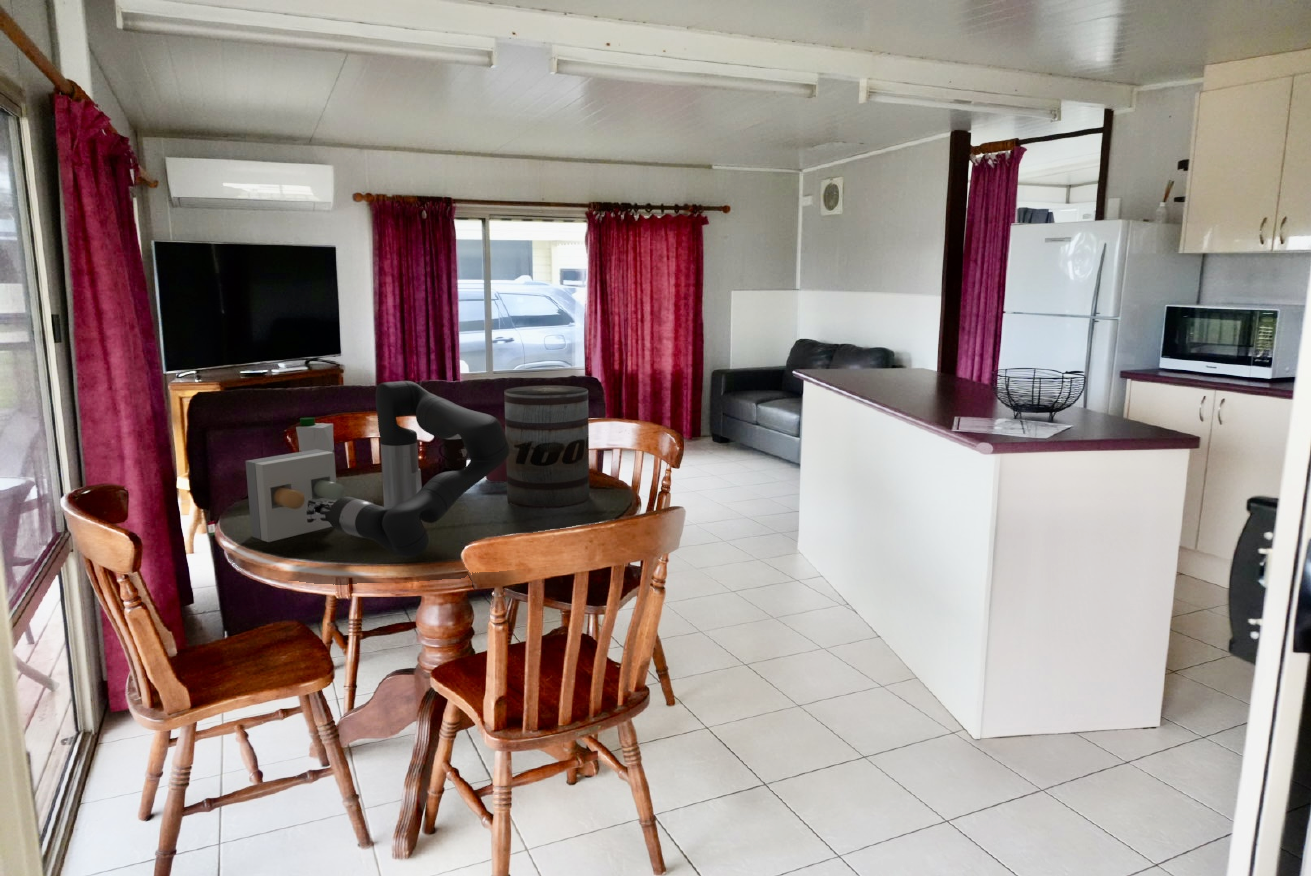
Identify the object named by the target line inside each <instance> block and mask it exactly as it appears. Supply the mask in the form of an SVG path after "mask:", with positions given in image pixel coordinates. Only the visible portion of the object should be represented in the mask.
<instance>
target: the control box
mask: <svg viewBox="0 0 1311 876" xmlns="http://www.w3.org/2000/svg"><path fill="white" fill-rule="evenodd" d="M335 457H336V456H335V452H334V453H333V452H328V451H323V450H319V449H316V450H309V451H303V452H292V453H286V454H279V455H273V456H268V457H267V456H266V457H262V458H261V457H260V458H255V459H248V460H245V472H246V481H247V483H246V484H247V495H248V507H249V518H250V531H251V537H252V538H254V539H258V540H261V541H263V542H267V543H271V542H274V541H278V540H279V541H280V540H283V539H287V538H290V537H295V536H300V535H303V534H307V533H312V532H315V531H321V530H325V529H328V528H331V527H332V525H331V524H330V523H329V522H328V521H322V520H321V519H320V518H316V520H314V521H313V522H311V523H309V522H307V513H306V511H307V509H308V501H309V500H313V499H316V500H320V501H325V500H326V501H332V500H331V499H327V498H324V497H320V496H317V495H316V494H315V492H314V487H315V484H316V483H317V482H318V481H320V480H326V481H330V482H334V483H337V474H336V472H337V471H336V458H335ZM279 488H287V489H291V490H295V491H298V492H301V493H302V494H303V495H304V498H305V501H304V504H303V505H302V506H301V507H300V508H298V509H292V508H289V507H285V506H282V505H279V504H277V503H276V502H275V501H274V494H275V492H276V491H277V490H278V489H279ZM332 528H333V527H332Z"/></svg>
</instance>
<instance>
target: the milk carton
mask: <svg viewBox="0 0 1311 876" xmlns="http://www.w3.org/2000/svg"><path fill="white" fill-rule="evenodd" d="M295 430H296V435H297V440H298V449H299V452H303V451H309V450H316V449H319V450H323V451H328V452H333V453H334V454H335V447H334V423H324V422H321V423H320V422H317V423H316V418H315V417H312V416H311V417H310V416H309V417H308V416H307V417H300V418H299V425H298V426H296V427H295Z"/></svg>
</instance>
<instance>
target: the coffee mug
mask: <svg viewBox="0 0 1311 876" xmlns="http://www.w3.org/2000/svg"><path fill="white" fill-rule="evenodd" d="M440 439H441V444H440V445H439V447H438V453H439V455H440V456H441V457H442V458H443V459H444V463H445V468H446V469H448V470H463V469H465V468H466V467H467V465H468V464H467V462H468V453H467V451H466V448H465V446H464V443H463V441H462V439H461V437H460V435H459V434H457V435H455V436H453V437H451V438H447V439H442V438H440ZM441 451H443V453H442V452H441Z"/></svg>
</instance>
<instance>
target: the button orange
mask: <svg viewBox="0 0 1311 876" xmlns="http://www.w3.org/2000/svg"><path fill="white" fill-rule="evenodd" d="M274 501H275V502H276V503H277V504H279V505H282V506H285V507H289V508H292V509H298V508H300V507H301V506H302V505H303V504H304V501H305V498H304V495H303V494H302V493H301V492H298V491H295V490H291V489H287V488H279V489H278V490H277V491H276V492H275V494H274Z"/></svg>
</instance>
